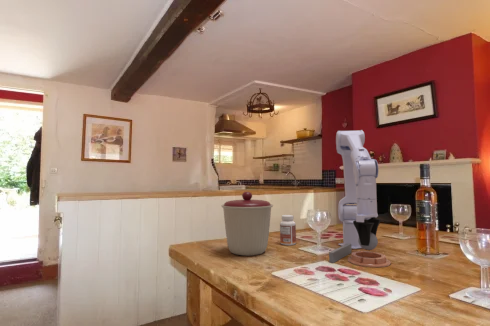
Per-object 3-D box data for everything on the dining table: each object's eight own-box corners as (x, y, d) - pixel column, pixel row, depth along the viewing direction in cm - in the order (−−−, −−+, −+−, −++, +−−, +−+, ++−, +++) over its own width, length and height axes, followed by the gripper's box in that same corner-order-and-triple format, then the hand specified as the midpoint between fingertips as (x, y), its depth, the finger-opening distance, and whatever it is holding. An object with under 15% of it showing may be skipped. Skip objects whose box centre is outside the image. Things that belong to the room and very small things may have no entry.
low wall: (348, 252, 101) (347, 243, 101) (351, 252, 100) (351, 243, 100) (329, 262, 88) (329, 252, 88) (333, 263, 88) (332, 252, 88)
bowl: (368, 255, 97) (367, 248, 97) (399, 264, 86) (399, 257, 86) (339, 259, 92) (339, 252, 92) (369, 269, 81) (368, 262, 81)
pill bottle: (291, 241, 119) (290, 214, 119) (299, 244, 113) (298, 216, 114) (277, 243, 117) (277, 215, 117) (284, 246, 111) (284, 216, 111)
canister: (226, 261, 91) (225, 193, 92) (218, 248, 108) (218, 191, 110) (281, 257, 95) (280, 192, 96) (264, 245, 112) (264, 190, 114)
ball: (367, 247, 93) (367, 229, 93) (382, 251, 88) (381, 232, 88) (354, 248, 90) (354, 231, 91) (368, 252, 85) (367, 233, 86)
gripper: (360, 197, 98) (361, 238, 97) (345, 199, 87) (346, 246, 86) (383, 198, 94) (384, 240, 93) (370, 200, 82) (371, 249, 82)
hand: (368, 243), depth 89 cm, fingers closed on ball, 5 cm apart
